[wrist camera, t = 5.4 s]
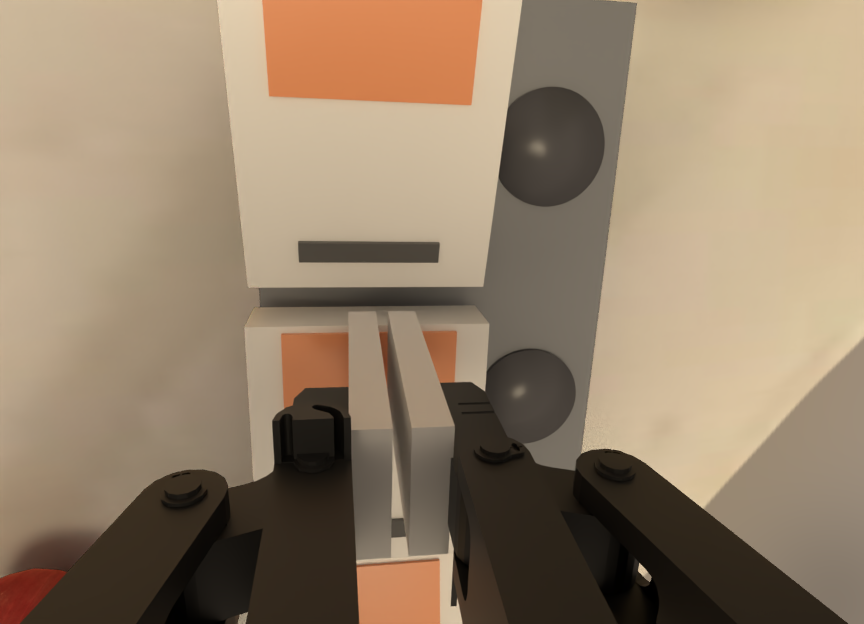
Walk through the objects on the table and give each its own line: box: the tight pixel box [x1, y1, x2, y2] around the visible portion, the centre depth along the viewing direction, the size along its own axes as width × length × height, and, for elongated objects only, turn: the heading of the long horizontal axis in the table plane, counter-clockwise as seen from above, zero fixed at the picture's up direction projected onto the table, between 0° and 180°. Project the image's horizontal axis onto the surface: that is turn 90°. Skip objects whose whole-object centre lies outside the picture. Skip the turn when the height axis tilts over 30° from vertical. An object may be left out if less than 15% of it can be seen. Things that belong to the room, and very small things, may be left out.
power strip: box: [259, 0, 637, 471], centre depth 24 cm, size 12×31×6 cm, turn 178°
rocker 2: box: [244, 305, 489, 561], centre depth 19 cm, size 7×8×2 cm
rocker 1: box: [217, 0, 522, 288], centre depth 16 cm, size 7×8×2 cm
